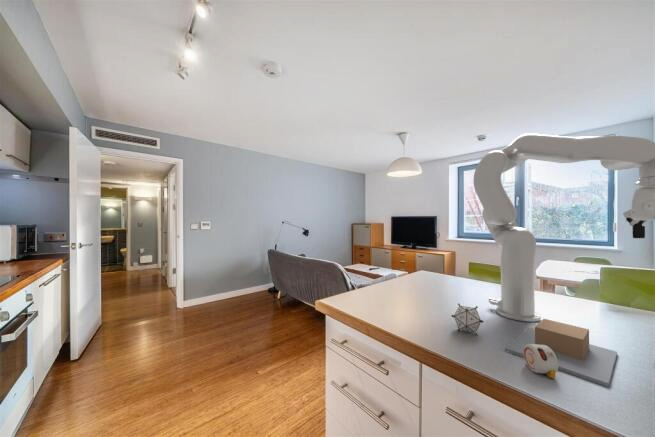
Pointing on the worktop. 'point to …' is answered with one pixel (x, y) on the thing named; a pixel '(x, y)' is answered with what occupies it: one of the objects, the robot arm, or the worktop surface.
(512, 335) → the worktop surface
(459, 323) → the white geodesic ball toy
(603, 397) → the worktop surface
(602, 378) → the tower base
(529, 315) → the robot arm
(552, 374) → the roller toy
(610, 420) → the worktop surface
